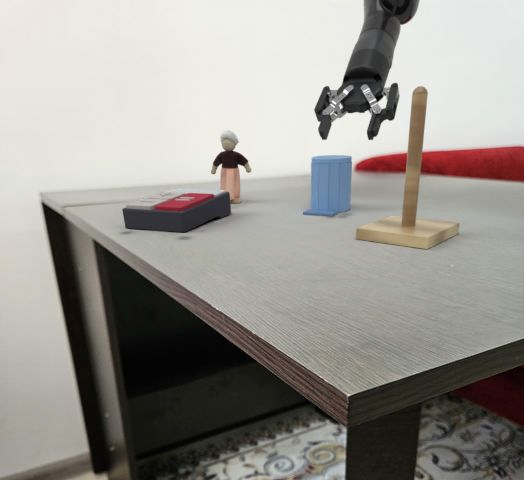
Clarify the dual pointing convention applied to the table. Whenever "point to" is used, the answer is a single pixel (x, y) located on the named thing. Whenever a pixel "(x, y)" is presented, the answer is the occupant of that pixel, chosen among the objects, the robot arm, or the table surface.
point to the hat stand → (411, 196)
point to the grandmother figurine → (230, 166)
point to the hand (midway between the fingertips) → (345, 136)
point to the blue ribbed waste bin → (330, 185)
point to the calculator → (177, 209)
